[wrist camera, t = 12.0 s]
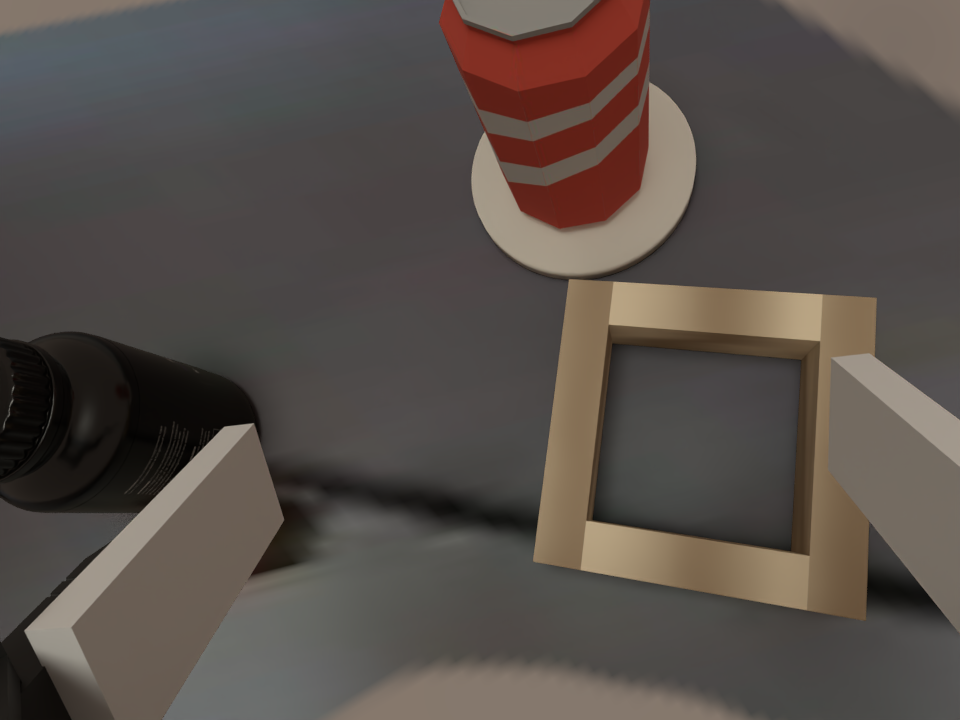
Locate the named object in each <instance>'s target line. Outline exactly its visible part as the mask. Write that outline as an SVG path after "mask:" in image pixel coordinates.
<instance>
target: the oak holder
mask: <svg viewBox="0 0 960 720" xmlns="http://www.w3.org/2000/svg"><path fill="white" fill-rule="evenodd" d="M876 300H877V298H869V297H853V296H837V295H820V294H804V293H788V292H771V291H755V290H739V289H723V288H706V287H690V286H674V285H657V284H641V283H625V282H609V281H592V280H576V279H569V285H568V293H567V300H566V308H565V316H564V324H563V332H562V339H561V347H560V355H559V363H558V371H557V379H556V386H555V394H554V402H553V410H552V418H551V425H550V433H549V441H548V449H547V457H546V464H545V472H544V480H543V488H542V496H541V503H540V511H539V519H538V527H537V535H536V542H535V550H534V558H533V562H538V563H544V564H549V565H555V566H561V567H566V568H572V569H577V570H583V571H589V572H594V573H600V574H606V575H611V576H617V577H622V578H628V579H634V580H639V581H645V582H650V583H656V584H662V585H667V586H673V587H678V588H684V589H690V590H695V591H701V592H707V593H712V594H718V595H723V596H729V597H735V598H740V599H746V600H751V601H757V602H763V603H768V604H774V605H779V606H785V607H791V608H796V609H802V610H807V611H813V612H819V613H824V614H830V615H836V616H841V617H847V618H852V619H858V620H864V621H866V600H867V570H868V540H869V520H868V519H867V518H866V516H865V515H864V514H863V513H862V511H861V510H860V509H859V508H858V506H857V505H856V504H855V503H854V501H853V500H852V499H851V498H850V496H849V495H848V494H847V493H846V492H845V490H844V489H843V488H842V487H841V485H840V484H839V483H838V482H837V480H836V479H835V478H834V477H833V475H832V474H831V473H830V472H829V470H828V450H829V413H830V376H831V358H832V357H840V356H849V355H858V354H867V353H869V354H871V355H872V356H874V357H875V330H876ZM612 343H613V344H624V345H636V346H647V347H659V348H671V349H682V350H694V351H706V352H717V353H729V354H741V355H752V356H764V357H775V358H787V359H799V360H801V377H800V395H799V413H798V431H797V450H796V468H795V486H794V504H793V522H792V540H791V551H786V550H779V549H773V548H766V547H760V546H754V545H747V544H741V543H735V542H728V541H722V540H716V539H709V538H703V537H697V536H690V535H684V534H678V533H671V532H665V531H658V530H652V529H646V528H639V527H633V526H627V525H620V524H614V523H608V522H601V521H595V520H592V519H593V510H594V501H595V493H596V484H597V475H598V466H599V457H600V448H601V439H602V430H603V421H604V413H605V404H606V395H607V386H608V377H609V368H610V359H611V350H612Z"/></svg>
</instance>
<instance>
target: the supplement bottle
mask: <svg viewBox="0 0 960 720" xmlns="http://www.w3.org/2000/svg"><path fill="white" fill-rule="evenodd" d="M252 423H254V425H255V428H256V422H255V417H254V413H253V411H252V408H251V405H250V403H249V401H248V399H247V398H246V396H245V395H244V394H243V392H242V391H241V390H240V389H239V388H238V387H237V386H236V385H235V384H234V383H232V382H231V381H229V380H228V379H226V378H224V377H222V376H220V375H217V374H214V373H211V372H208V371H206V370H203V369H200V368H196V367H193V366H190V365H187V364H184V363H181V362H178V361H175V360H171V359H168V358H165V357H162V356H159V355H156V354H153V353H149V352H146V351H143V350H140V349H137V348H134V347H131V346H127V345H124V344H121V343H118V342H115V341H112V340H109V339H105V338H102V337H99V336H95V335H91V334H87V333H82V332H59V333H53V334H49V335H45V336H42V337H39V338H37V339H34V340H32V341H30V342H28V343H27V342H24V341H19V340H8V339H5V338H1V337H0V498H2V499H3V500H4V501H6V502H7V503H9V504H11V505H13V506H15V507H17V508H20V509H23V510H27V511H32V512H43V513H140V512H141V511H142V510H143V509H144V508H145V507H146V506H147V505H148V504H149V503H150V502H151V501H152V500H153V499H154V498H155V497H156V496H157V495H158V494H159V493H160V492H161V491H162V490H163V489H164V488H165V487H166V486H167V485H168V484H169V483H170V482H171V481H172V480H173V479H174V478H175V476H176V475H177V474H178V473H179V472H180V471H181V470H182V469H183V468H184V467H185V466H186V465H187V464H188V463H189V462H190V461H191V460H192V459H193V458H194V457H195V456H196V455H197V454H198V453H199V452H200V451H201V450H202V449H203V448H204V447H205V446H206V445H207V444H208V443H209V442H210V441H211V440H212V439H213V438H214V437H215V436H216V435H217V434H218V433H219V432H220V431H221V430H222V429H223V428H224V427H226V426H235V425H244V424H252Z"/></svg>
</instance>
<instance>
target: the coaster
mask: <svg viewBox="0 0 960 720" xmlns="http://www.w3.org/2000/svg"><path fill="white" fill-rule="evenodd" d="M695 171H696V151H695V144H694V139H693V136H692V132H691V129H690V127H689V125H688V123H687V121H686V118H685V116H684V115H683V113H682V112H681V110H680V109H679V108H678V106H677V105H676V104H675V103H674V102H673V100H672V99H671V98H670V97H669V96H668V95H667V94H665V93H664V92H663V91H662V90H660V89H659V88H658V87H656V86H655V85H653V84H651V83H650V82H649V148H648V153H647V158H646V163H645V167H644V172H643V177H642V182H641V187H640V190H639V191H637V192H636V193H635V194H634V195H633V196H632V197H631V198H630V199H629V200H628V201H627V202H625V203H624V204H623V205H622V206H621V207H620V208H619V209H618V210H617V211H616V212H615V213H613V214H612V215H611V216H610V217H609V218H608V219H607V220H606V221H601V222H595V223H590V224H584V225H578V226H573V227H567V228H561V229H559V228H557V227H554V226H552V225H550V224H548V223H546V222H543V221H541V220H539V219H537V218H535V217H532V216H530V215H528V214H526V213H524V212H522V211H520V209H519V207H518V205H517V203H516V201H515V198H514V196H513V194H512V192H511V190H510V188H509V186H508V184H507V182H506V180H505V178H504V176H503V173H502V171H501V169H500V166H499V164H498V162H497V159H496V157H495V154H494V152H493V150H492V147H491V145H490V143H489V140H488V138H487V135H486V133H485V132H484V134H483V136H482V138H481V140H480V142H479V145H478V148H477V150H476V153H475V157H474V162H473V167H472V178H471V179H472V193H473V199H474V204H475V207H476V209H477V212H478V215H479V217H480V219H481V221H482V223H483V225H484V227H485V229H486V230H487V232H488V234H489V236H490V237H491V238H492V240H493V241H494V243H495V244H496V245H497V246H498V248H499V249H500V250H501V251H502V252H503V253H504V254H505V255H506V256H508V257H509V258H510V259H512V260H513V261H514V262H515V263H517V264H519V265H521V266H522V267H524V268H526V269H528V270H530V271H532V272H535V273H537V274H540V275H544V276H547V277H551V278H556V279H564V280H569V279H576V280H587V279H595V278H600V277H604V276H608V275H612V274H615V273H617V272H620V271H623V270H625V269H628V268H629V267H631V266H633V265H635V264H637V263H639V262H641V261H642V260H643V259H645V258H646V257H648V256H649V255H651V254H652V253H653V252H654V251H656V250H657V249H658V248H659V247H660V246H661V245H662V244H663V243H664V242H665V241H666V240H667V239H668V238H669V236H670V235H671V234H672V233H673V232H674V230H675V229H676V227H677V226H678V224H679V223H680V221H681V220H682V218H683V215H684V213H685V211H686V209H687V207H688V204H689V201H690V198H691V195H692V190H693V184H694V178H695Z"/></svg>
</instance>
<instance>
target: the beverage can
mask: <svg viewBox="0 0 960 720" xmlns="http://www.w3.org/2000/svg"><path fill="white" fill-rule="evenodd" d="M439 24H440V26H441V28H442V31H443V33H444V35H445V38H446V40H447V43H448V45H449V47H450V50H451V52H452V55H453V57H454V59H455V62H456V64H457V66H458V69H459V71H460V74H461V76H462V78H463V81H464V83H465V85H466V88H467V90H468V93H469V95H470V97H471V100H472V102H473V104H474V107H475V109H476V112H477V114H478V116H479V119H480V121H481V123H482V126H483V128H484V131H485V133H486V135H487V138H488V140H489V143H490V145H491V147H492V150H493V152H494V154H495V157H496V159H497V162H498V164H499V166H500V169H501V171H502V173H503V176H504V178H505V180H506V182H507V184H508V186H509V188H510V190H511V192H512V194H513V196H514V198H515V201H516V203H517V205H518V207H519V209H520V211H522V212H524V213H526V214H528V215H530V216H532V217H535V218H537V219H539V220H541V221H543V222H546V223H548V224H550V225H552V226H554V227H557V228H559V229H561V228H567V227H573V226H578V225H584V224H590V223H595V222H601V221H606V220H607V219H608V218H609V217H610V216H611V215H612V214H613V213H615V212H616V211H617V210H618V209H619V208H620V207H621V206H622V205H623V204H624V203H625V202H627V201H628V200H629V199H630V198H631V197H632V196H633V195H634V194H635V193H636V192H637V191H639V190H640V187H641V182H642V177H643V172H644V167H645V163H646V158H647V153H648V148H649V35H650V0H445V2H444V6H443V10H442V13H441V17H440V21H439Z"/></svg>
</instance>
